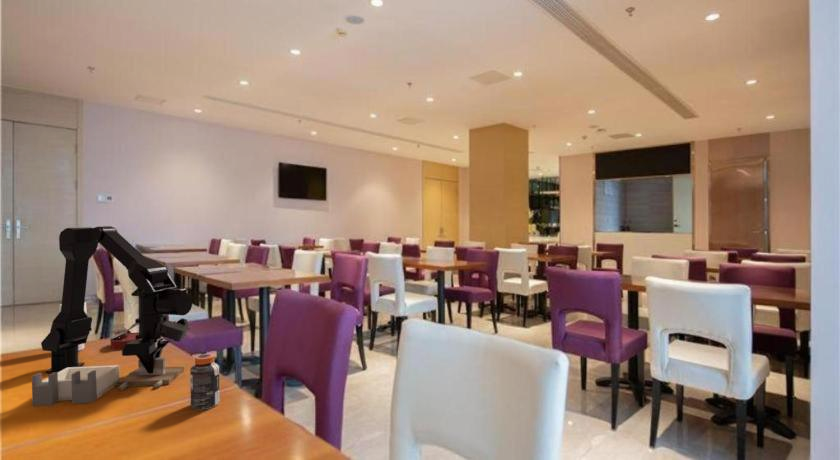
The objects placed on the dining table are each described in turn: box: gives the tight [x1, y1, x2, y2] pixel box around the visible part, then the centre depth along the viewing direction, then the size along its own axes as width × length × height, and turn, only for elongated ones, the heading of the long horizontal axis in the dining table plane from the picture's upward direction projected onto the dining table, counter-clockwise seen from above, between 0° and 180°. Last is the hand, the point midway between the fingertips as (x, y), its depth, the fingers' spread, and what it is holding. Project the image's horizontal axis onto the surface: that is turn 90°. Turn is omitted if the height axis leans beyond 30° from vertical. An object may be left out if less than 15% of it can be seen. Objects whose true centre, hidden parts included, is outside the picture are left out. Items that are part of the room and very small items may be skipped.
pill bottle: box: [189, 353, 220, 411], centre depth 100 cm, size 6×6×11 cm
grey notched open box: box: [31, 364, 120, 407], centre depth 105 cm, size 12×12×7 cm
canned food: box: [109, 322, 141, 351], centre depth 145 cm, size 11×10×10 cm
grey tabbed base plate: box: [117, 356, 185, 391], centre depth 114 cm, size 12×12×5 cm
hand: (152, 371), depth 116 cm, fingers closed on grey tabbed base plate
